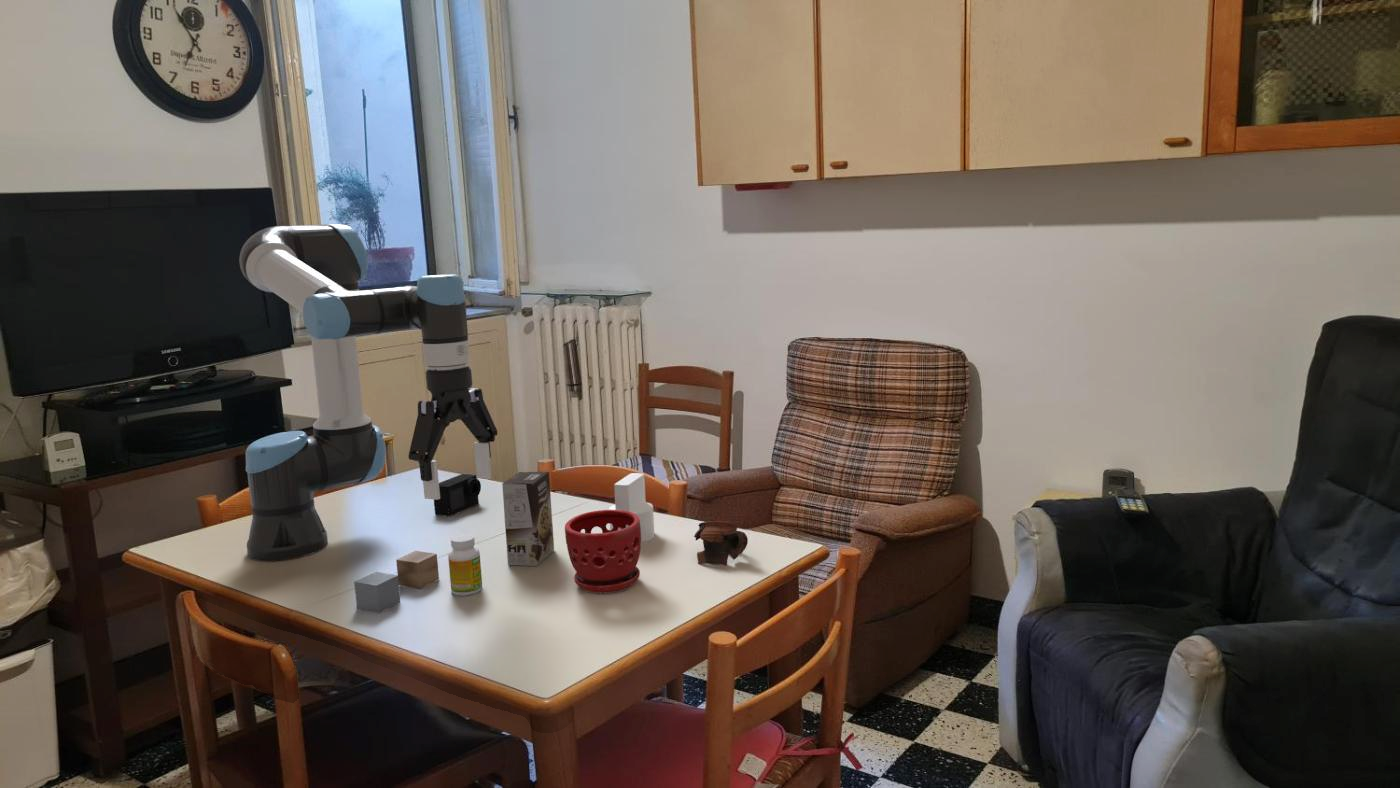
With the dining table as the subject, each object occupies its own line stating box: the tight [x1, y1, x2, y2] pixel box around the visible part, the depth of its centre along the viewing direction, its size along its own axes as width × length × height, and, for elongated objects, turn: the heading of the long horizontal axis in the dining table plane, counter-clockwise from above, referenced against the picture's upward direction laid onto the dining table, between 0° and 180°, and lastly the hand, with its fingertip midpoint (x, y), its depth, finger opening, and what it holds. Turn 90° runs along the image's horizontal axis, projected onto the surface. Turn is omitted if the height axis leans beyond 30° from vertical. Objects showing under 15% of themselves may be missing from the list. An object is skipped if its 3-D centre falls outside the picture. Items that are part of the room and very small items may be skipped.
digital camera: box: [433, 473, 482, 517], centre depth 218 cm, size 10×5×7 cm, turn 155°
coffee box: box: [502, 471, 555, 567], centre depth 184 cm, size 9×6×16 cm
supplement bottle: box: [447, 534, 483, 597], centre depth 169 cm, size 5×5×10 cm
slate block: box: [353, 571, 401, 614], centre depth 164 cm, size 5×5×5 cm
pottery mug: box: [693, 520, 749, 566], centre depth 181 cm, size 12×10×8 cm
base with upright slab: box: [608, 472, 655, 543], centre depth 195 cm, size 9×9×12 cm
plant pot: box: [564, 509, 642, 594], centre depth 169 cm, size 13×13×12 cm
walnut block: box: [395, 550, 440, 590], centre depth 174 cm, size 5×5×5 cm
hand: (459, 488), depth 166 cm, fingers open, 13 cm apart
